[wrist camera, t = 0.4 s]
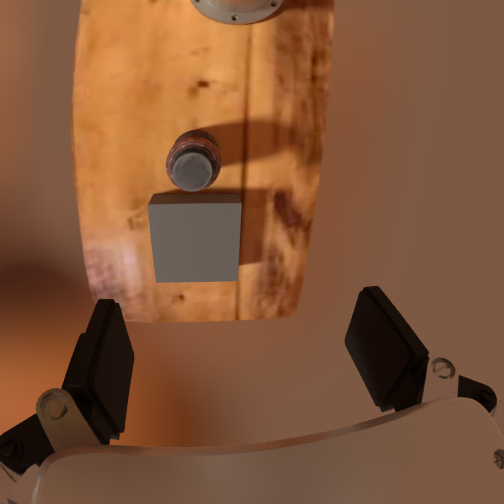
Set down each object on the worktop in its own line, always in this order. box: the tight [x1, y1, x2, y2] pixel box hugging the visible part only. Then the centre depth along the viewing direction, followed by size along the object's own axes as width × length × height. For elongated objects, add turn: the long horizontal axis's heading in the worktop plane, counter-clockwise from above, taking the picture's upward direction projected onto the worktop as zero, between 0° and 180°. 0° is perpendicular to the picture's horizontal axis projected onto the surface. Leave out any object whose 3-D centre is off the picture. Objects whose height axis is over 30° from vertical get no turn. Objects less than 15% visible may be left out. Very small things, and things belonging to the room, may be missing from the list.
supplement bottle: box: [166, 130, 221, 192], centre depth 32 cm, size 6×6×11 cm
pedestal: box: [148, 193, 242, 283], centre depth 41 cm, size 12×12×4 cm
